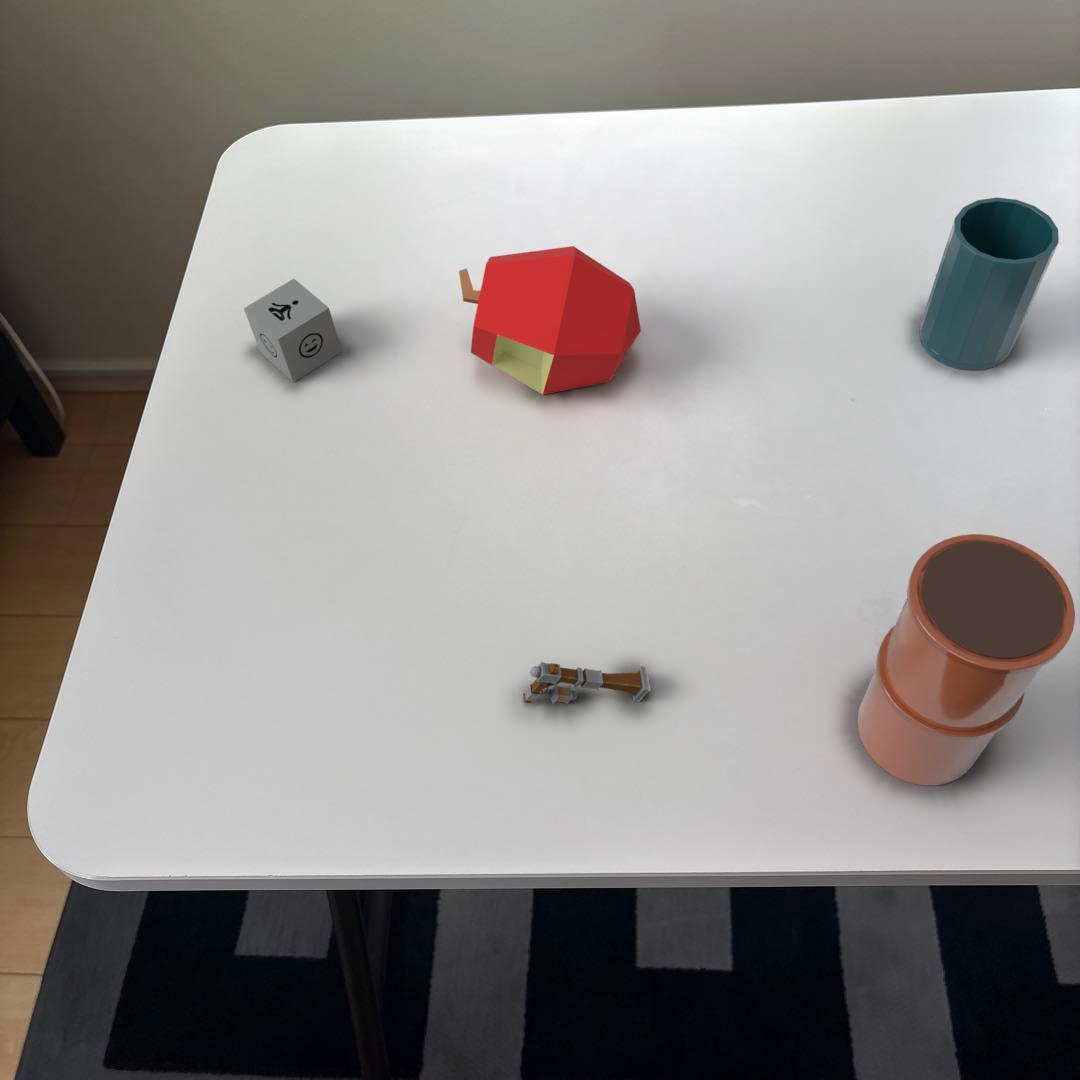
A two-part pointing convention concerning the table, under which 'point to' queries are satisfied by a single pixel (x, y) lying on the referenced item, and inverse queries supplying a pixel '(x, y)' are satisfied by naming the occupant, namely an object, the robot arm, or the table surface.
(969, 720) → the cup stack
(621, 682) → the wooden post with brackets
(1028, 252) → the cup
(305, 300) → the dice cube
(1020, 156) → the table surface
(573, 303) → the apple
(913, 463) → the table surface
